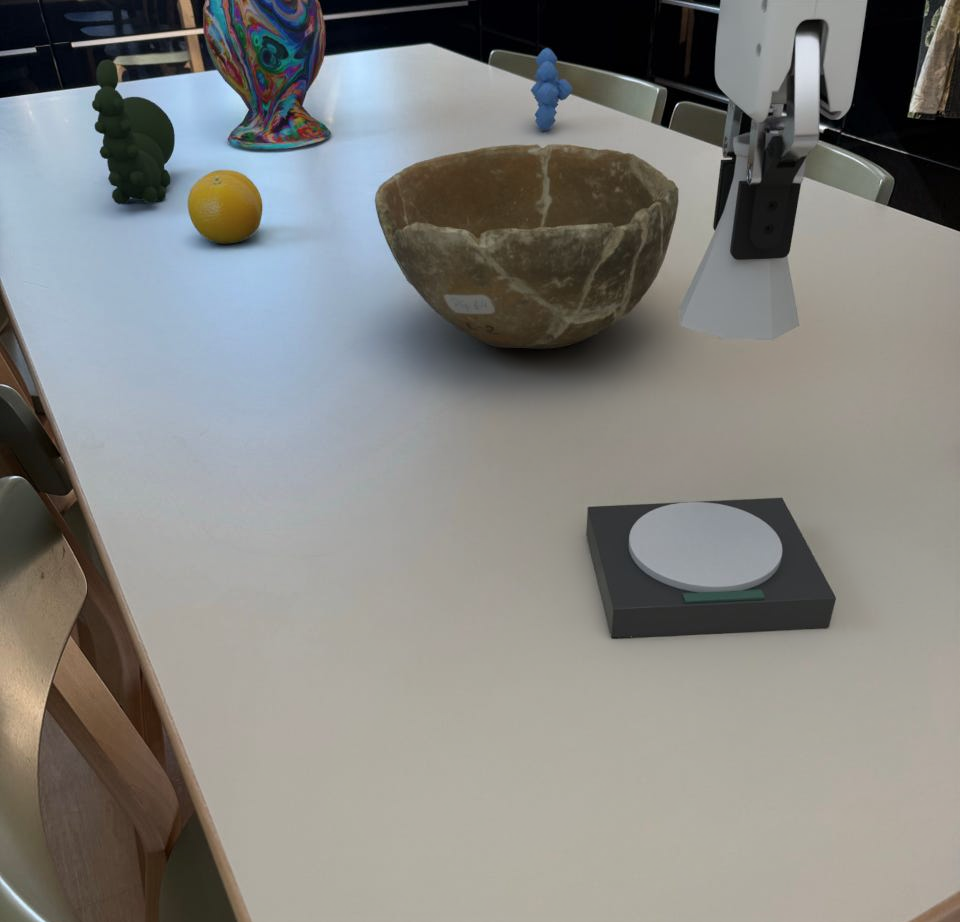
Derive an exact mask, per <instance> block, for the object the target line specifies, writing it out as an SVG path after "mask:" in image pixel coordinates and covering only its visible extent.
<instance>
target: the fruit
mask: <svg viewBox="0 0 960 922" xmlns="http://www.w3.org/2000/svg"><path fill="white" fill-rule="evenodd" d="M263 207H264V206H263V200H262V196H261V193H260V191H259V189H258V187H257V186H256V185H255V183H254V182H253V181H252V180H251V179H250V178H249V177H248V176H247V175H245V174H243V173H241V172H239V171H235V170H230V169H219V170H214V171H211V172H209V173H207V174H205V175H204V176H202V177H201V178H200V179H198V180H197V181H196V182H195V183H194V184H193V186H192V187H191V188H190V191H189V193H188V197H187V209H188V215H189V218H190V220H191V223H192V225H193V226H194V228H195V230H196V231H197V232H198V233H199V234H200V236H203V237H204V238H205V239H207V240H209V241H211V242H214V243H218V244H236V243H239V242H242V241H244V240H247V239H249V238H250V237H252V236H253V235H254V234H255V233H256V231H257V230H259V228H260V225H261V220H262V216H263Z"/></svg>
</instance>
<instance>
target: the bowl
mask: <svg viewBox="0 0 960 922" xmlns="http://www.w3.org/2000/svg"><path fill="white" fill-rule="evenodd" d="M679 201H680V200H679V188H678V186H677V185H676V183H675V182H674V180H671V179H669V178H668V177H667V176H666V175H665V174H663V172H661V171H660V170H658V169H657V168H655V167H654V166H653V165H651V164H650V163H648V162H647V161H646V160H645V159H643V158H640V157H638V156H636V155H635V154H634V153H631V152H622V151H619V150H615V149H614V150H613V149H605V148H603V149H597V148H592V147H586V146H579V145H574V144H562V143H561V144H558V143H555V144H553V143H552V144H547V145H546V146H544V147H541V146H540V145H539V144H507V145H506V144H505V145H498V146H497V145H496V146H488V147H482V148H477V149H473V150H469V151H461V152H456V153H451V154H444V155H441V156H437V157H433V158H428V159H425V160H422V161H418V162H415V163H413V164H411V165H409V166H407V167H405V168H403V169H401V171H398V172H397V173H395V174H394V175H392V176H391V177H390V178H388V179H387V180H385V181H383V182H382V183H381V184H380V186H379V187H378V188H377V190H376V192H375V197H374V205H375V210H376V215H377V220H378V223H379V225H380V228H381V231H382V233H383V236H384V239H385V242H386V244H387V246H388V248H389V250H390V252H391V255H392V257H393V258H394V260H395V262H396V264H397V266H398V267H399V269H400V271H401V272H402V275H403V276H404V277H405V279H406V280H407V281H406V282H407V283H409V284H410V285H411V286H412V287H413V288H414V289H415V291H416V292H417V293H418V295H419V296H420V297H421V298H422V300H424V302H426V303H427V304H428V305H429V306H430V307H431V308H432V309H433V311H435V313H437V314H438V315H439V316H441V317H442V318H443V319H444V320H445V321H447V322H448V323H450V324H451V325H452V326H454V327H455V328H456V329H458V330H459V331H462V333H465V334H467V335H468V336H470V337H473V338H474V339H476V340H478V341H480V342H482V343H484V344H486V345H489V346H493V347H495V348H513V349H514V348H518V349H519V348H521V349H538V350H541V349H542V350H543V349H557V348H561V347H566V346H571V345H575V344H577V343H579V342H582V341H584V340H586V339H589V338H591V337H592V336H594V335H596V334H599V333H600V332H602V331H605V330H606V329H609V328H610V327H611V326H613V325H614V324H615V323H617V322H619V321H621V320H622V319H624V318H625V317H626V316H627V315H628V314H629V313H630V312H631V311H632V310H633V309H634V308H635V307H636V306H637V305H638V304H639V303H640V301H641V300H643V299H642V298H643V297H644V296H645V295H646V293H647V292H648V291H649V289H650V288H651V286H652V285H653V283H654V281H655V280H656V278H657V277H658V274H659V273H660V270H661V268H662V265H663V264H664V262H665V259H666V255H667V251H668V248H669V245H670V242H671V237H672V234H673V231H674V226H675V224H676V218H677V213H678V207H679Z"/></svg>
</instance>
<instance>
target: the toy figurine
mask: <svg viewBox="0 0 960 922" xmlns="http://www.w3.org/2000/svg"><path fill="white" fill-rule="evenodd" d="M95 73H96V75H95V77H96V81H97V84H98V87H99V89H98V90H97V91H96V93H95V95H94V100H92V102H91V106H92V109H93V110H94V111H95V112H98V116H97V121H96V122H95V123H94V130H95V131H96V132H97V133H99V134H101V135H103V137H102V146H100V149H99V155H100V157H101V158H102V159H104V160H107V161H106V163H107V168H108V171H109V175H108V177H107V180H108V182H109V184H110V185H111V186H112V187H116V188H115V189H113V190H112V192H111V198H112V200H113V201H114V202H115V204H118V205H125V204H127V203H129V202H130V200H131V199H134V200H140V201H141V200H143V201H144V202H146V203H148V204H149V203H154V202H156V201H160V202H161V201H163V200H165V199H166V197H167V190H166V188H168V187H169V186H170V185H171V182H172V178H171V175H170V173H169V171H168V170H167V169H165V168H166V167H165V165H166V164H167V163H168V161H170V160H171V157H172V155H173V153H174V150H175V143H176V137H175V129H174V125H173V122H172V120H171V119H170V117H169V115H168V114H167V113H166V112H165V111H164V110H163V109H162V108H161V107H160V106H159V105H158V104H156V102H153V101H151V100H150V99H147V98H145V97H140V96H127V97H124V98H123V96H122V94H121V93H120V92H119V91H118V90H116V88H117V86H118V83H119V73H118V67H117V65H116V63H115V62H114V61H112V60H111V59H104V60H101V61H100V62H99V64H98V65H97V68H96V72H95Z"/></svg>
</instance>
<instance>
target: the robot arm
mask: <svg viewBox="0 0 960 922" xmlns="http://www.w3.org/2000/svg"><path fill="white" fill-rule="evenodd" d="M867 6H868V0H720V3H719V11H718V19H717V29H716V41H715V54H714V78H715V82H716V85H717V87H718V88H719V89H720V90H721V91H722V93H723V94H724V95H725V96H726V97H727V98H728V99H729V100H728V104H727V109H726V119H725V125H724V132H723V140H722V147H721V149H722V151H721V152H722V157H723V159H720V164H719V166H720V167H719V173H718V182H717V190H716V199H715V208H714V216H713V224H712V229H713V231H714V232H715V230H716V228H717V225H718V223H719V221H720V219H721V216H722V214H723V212H724V209H725V205H726V202H727V199H728V195H729V192H730V188H731V185H732V181H733V178H734V171H735V164H736V155H735V153H734V148H733V138H734V137H736V136H739V135H742V134H745V133H750V141H749V151H748V161H747V172H746V181H739V185H738V192H737V200H736V208H735V215H734V223H733V231H732V238H731V246H730V253H731V255H732V256H733V258H734V259H736V260H748V259H773V258H784V257H786V256H787V257H788V255H789V254H790V251H791V247H792V241H793V235H794V229H795V223H796V216H797V211H798V205H799V198H800V193H801V187H802V183H803V182H804V179H805V172H806V165H807V159H808V158H807V157H808V155H809V154H810V152H812V151H813V150H814V149H815V148H816V147H817V145H818V144H819V139H820V114H821V115H822V116H824V117H825V118H827V119H828V120H840V119H841V118H843V117H845V115H846V114H847V113H848V112H849V111H850V109H851V106H852V102H853V98H854V91H855V86H856V79H857V73H858V66H859V60H860V55H861V47H862V40H863V32H864V28H865V27H864V26H865V19H866V13H867ZM785 105H786V108H785V109H786V114H783V110H784V107H785ZM780 131H781V132H780ZM779 132H780V133H781V134H779ZM767 133H773V134H779V135H780V136H772V138H771V140H770V142H769V143H768V144H767V145H768V146H767V148H766V150H765V145H766V135H767Z"/></svg>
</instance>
